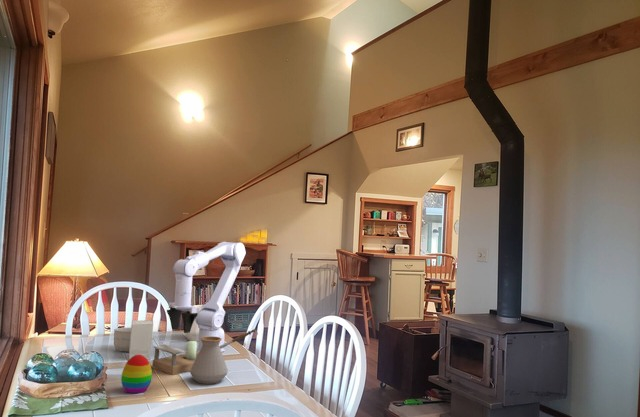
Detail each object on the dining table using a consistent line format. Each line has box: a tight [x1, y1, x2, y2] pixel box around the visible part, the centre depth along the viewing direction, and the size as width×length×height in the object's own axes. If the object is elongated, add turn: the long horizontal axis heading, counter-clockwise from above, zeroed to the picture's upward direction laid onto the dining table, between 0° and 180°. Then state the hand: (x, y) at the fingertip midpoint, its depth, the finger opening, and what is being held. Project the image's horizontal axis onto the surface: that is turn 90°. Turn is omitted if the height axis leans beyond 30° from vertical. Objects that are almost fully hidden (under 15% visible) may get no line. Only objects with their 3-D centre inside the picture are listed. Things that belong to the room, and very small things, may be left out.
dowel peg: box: [185, 340, 198, 360], centre depth 167 cm, size 3×3×8 cm
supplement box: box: [128, 319, 154, 361], centre depth 175 cm, size 7×7×13 cm
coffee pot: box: [189, 328, 259, 385], centre depth 155 cm, size 21×12×15 cm, turn 121°
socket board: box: [151, 344, 199, 376], centre depth 166 cm, size 18×12×7 cm, turn 140°
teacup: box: [113, 327, 131, 352], centre depth 184 cm, size 14×11×8 cm
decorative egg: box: [120, 355, 153, 394], centre depth 139 cm, size 8×8×10 cm
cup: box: [185, 304, 204, 342], centre depth 209 cm, size 13×13×14 cm
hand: (180, 330), depth 176 cm, fingers open, 7 cm apart
